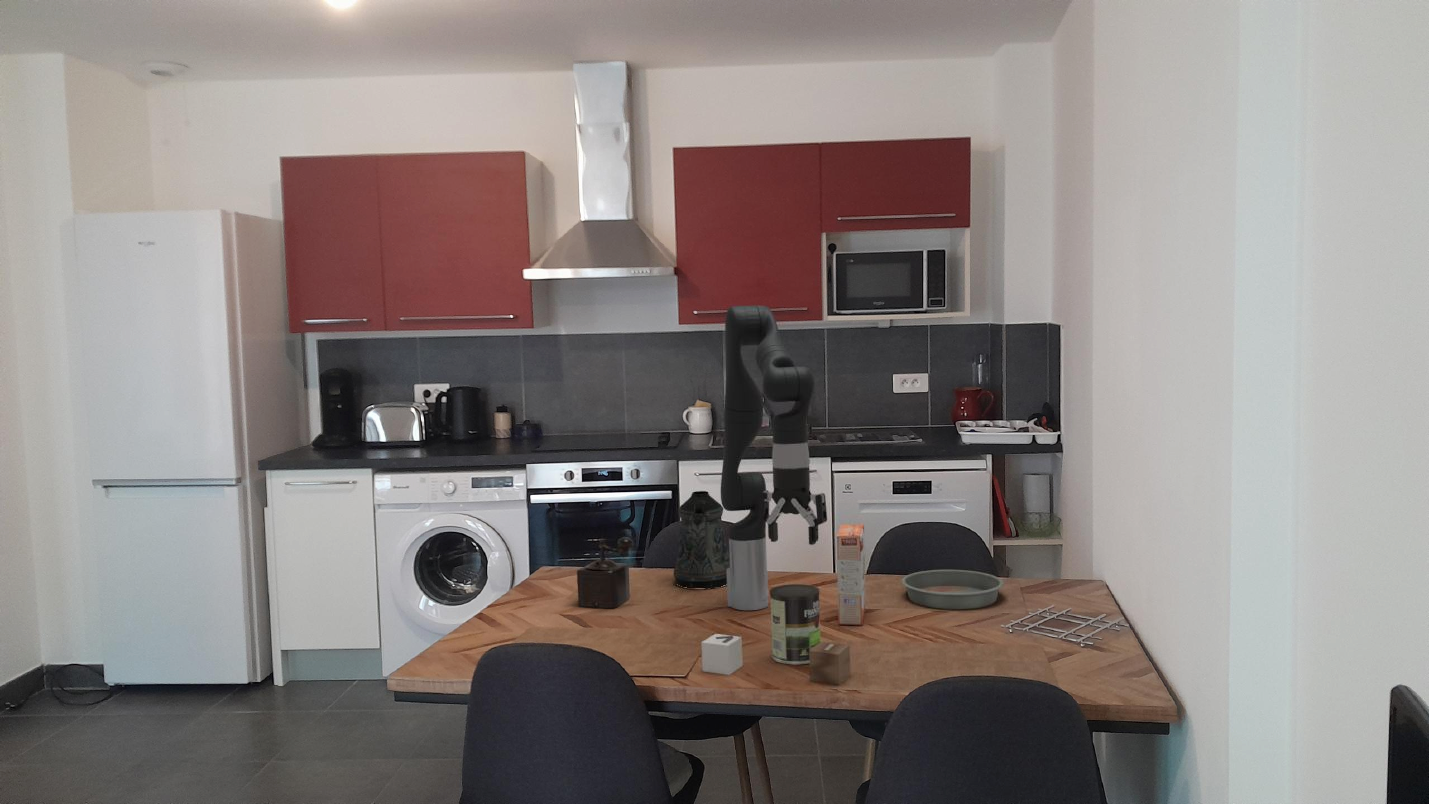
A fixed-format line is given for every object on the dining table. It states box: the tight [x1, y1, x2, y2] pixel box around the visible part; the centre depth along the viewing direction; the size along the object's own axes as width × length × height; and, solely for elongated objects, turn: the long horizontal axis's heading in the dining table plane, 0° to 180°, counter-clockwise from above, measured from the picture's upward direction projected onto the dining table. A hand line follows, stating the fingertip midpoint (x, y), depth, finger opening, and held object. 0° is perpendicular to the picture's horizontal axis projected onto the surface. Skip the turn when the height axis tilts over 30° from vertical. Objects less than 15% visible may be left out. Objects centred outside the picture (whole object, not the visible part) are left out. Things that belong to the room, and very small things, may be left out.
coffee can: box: [768, 583, 821, 666], centre depth 202 cm, size 10×10×14 cm
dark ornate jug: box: [672, 490, 730, 589], centre depth 265 cm, size 16×19×25 cm
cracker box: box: [836, 523, 866, 626], centre depth 228 cm, size 14×6×21 cm, turn 168°
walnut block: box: [809, 641, 851, 685], centre depth 189 cm, size 6×6×6 cm
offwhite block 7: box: [701, 633, 744, 676], centre depth 197 cm, size 6×6×6 cm
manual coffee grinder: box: [576, 536, 634, 609], centre depth 249 cm, size 16×11×18 cm
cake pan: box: [901, 569, 1004, 610], centre depth 243 cm, size 25×25×4 cm
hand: (793, 542), depth 201 cm, fingers open, 8 cm apart
